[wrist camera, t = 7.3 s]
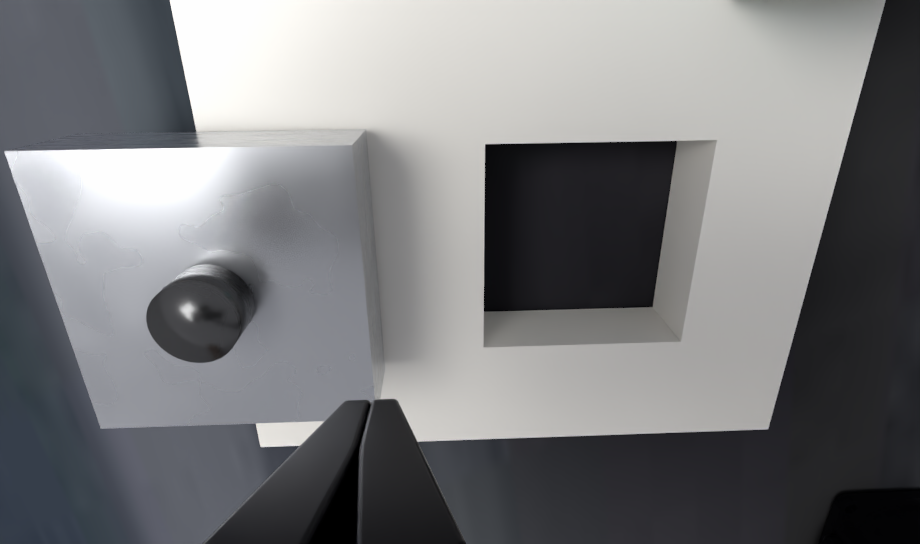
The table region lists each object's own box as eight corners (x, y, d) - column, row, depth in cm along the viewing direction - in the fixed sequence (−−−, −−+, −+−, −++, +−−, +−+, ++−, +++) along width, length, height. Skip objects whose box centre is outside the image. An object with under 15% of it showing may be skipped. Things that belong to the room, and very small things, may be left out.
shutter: (366, 129, 14) (343, 155, 11) (385, 368, 17) (371, 449, 13) (77, 133, 14) (-42, 162, 10) (147, 376, 17) (73, 460, 13)
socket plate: (823, -4, 16) (889, -13, 13) (731, 387, 21) (768, 429, 19) (209, 1, 15) (168, -7, 13) (280, 402, 21) (260, 446, 18)
